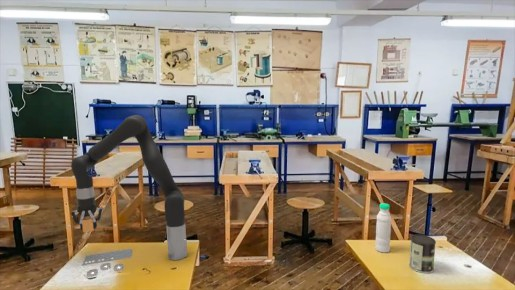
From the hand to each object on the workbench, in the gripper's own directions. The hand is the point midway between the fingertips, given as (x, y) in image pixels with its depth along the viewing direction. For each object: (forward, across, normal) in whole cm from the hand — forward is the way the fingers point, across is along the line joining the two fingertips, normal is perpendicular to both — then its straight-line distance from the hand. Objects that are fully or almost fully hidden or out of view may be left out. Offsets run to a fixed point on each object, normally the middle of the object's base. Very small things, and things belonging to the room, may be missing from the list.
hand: (88, 229), depth 153 cm
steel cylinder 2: (+16, -8, +13) cm, 22 cm away
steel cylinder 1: (+16, -3, +17) cm, 24 cm away
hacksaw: (+17, -26, +11) cm, 33 cm away
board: (+16, -8, +2) cm, 18 cm away
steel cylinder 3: (+16, -14, +16) cm, 27 cm away
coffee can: (+16, -148, +62) cm, 161 cm away
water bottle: (+16, -143, +42) cm, 150 cm away
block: (0, 0, 0) cm, 0 cm away
